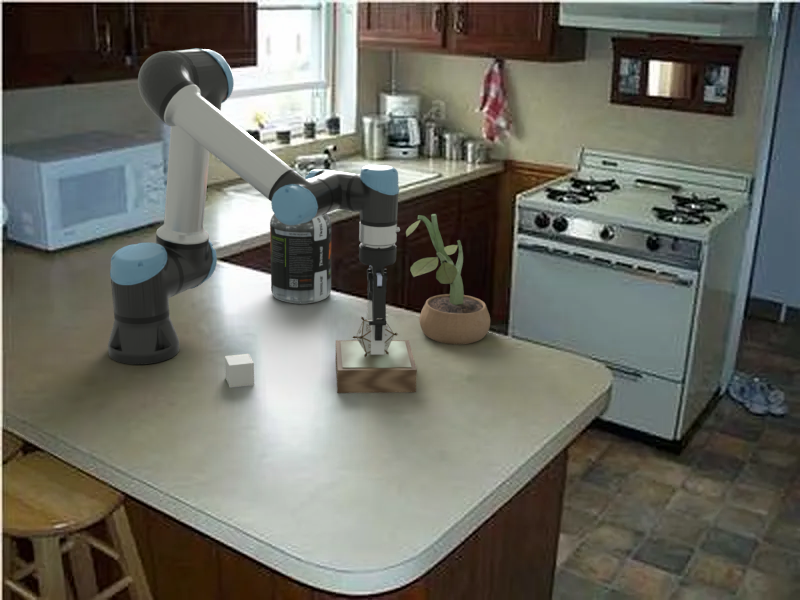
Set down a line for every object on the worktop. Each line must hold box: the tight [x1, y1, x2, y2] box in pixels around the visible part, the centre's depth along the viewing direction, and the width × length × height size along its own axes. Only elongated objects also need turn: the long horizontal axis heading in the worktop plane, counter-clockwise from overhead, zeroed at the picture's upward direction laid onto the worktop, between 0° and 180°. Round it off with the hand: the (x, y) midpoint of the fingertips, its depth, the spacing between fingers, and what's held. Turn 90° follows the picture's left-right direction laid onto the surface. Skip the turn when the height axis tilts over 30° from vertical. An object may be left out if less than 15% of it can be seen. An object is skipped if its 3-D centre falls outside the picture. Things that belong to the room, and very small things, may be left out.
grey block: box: [224, 353, 255, 389], centre depth 186 cm, size 5×5×5 cm
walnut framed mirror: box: [335, 339, 418, 394], centre depth 190 cm, size 16×16×5 cm
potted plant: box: [405, 213, 491, 345], centre depth 211 cm, size 22×18×30 cm
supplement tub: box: [269, 213, 332, 305], centre depth 234 cm, size 16×16×26 cm
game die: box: [351, 316, 399, 357], centre depth 188 cm, size 9×8×10 cm
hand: (375, 341), depth 189 cm, fingers open, 13 cm apart
